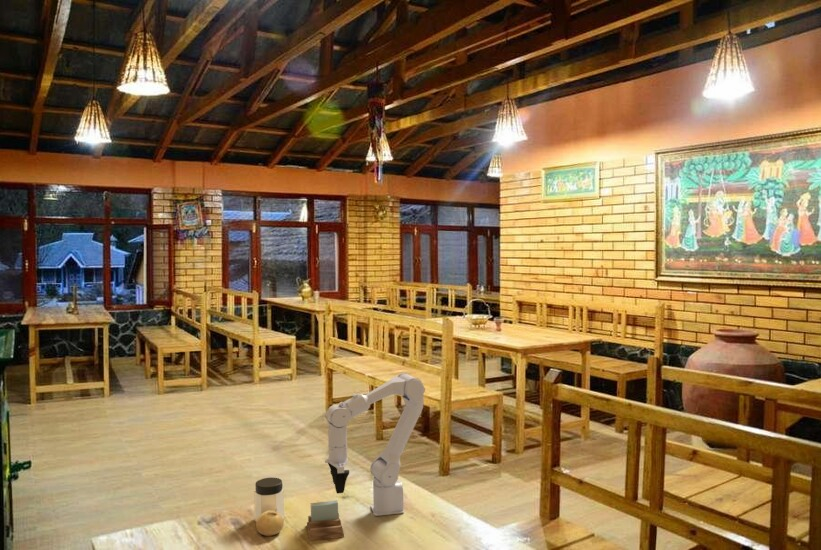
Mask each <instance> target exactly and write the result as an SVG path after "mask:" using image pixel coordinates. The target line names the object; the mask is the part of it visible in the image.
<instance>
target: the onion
mask: <svg viewBox="0 0 821 550" xmlns="http://www.w3.org/2000/svg"><path fill="white" fill-rule="evenodd" d="M276 510H277V509H276ZM276 510H275V511H271V510H268V511H265V512H264V513H262V514H261V515H260V516H259V517H258V519H257V522H256V521H255V522H256V523H255V528H256V530H257V532H258V533H259V534H260V535H262V536H264V537H270V536H275V535H277V534H279V533H280V532H281V531H282V530H283V528H284V524H285V523H284V519H283V518H282V516H281V515H280V514H279V513H278V512H276Z"/></svg>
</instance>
